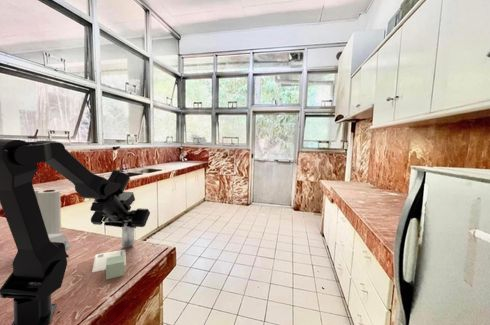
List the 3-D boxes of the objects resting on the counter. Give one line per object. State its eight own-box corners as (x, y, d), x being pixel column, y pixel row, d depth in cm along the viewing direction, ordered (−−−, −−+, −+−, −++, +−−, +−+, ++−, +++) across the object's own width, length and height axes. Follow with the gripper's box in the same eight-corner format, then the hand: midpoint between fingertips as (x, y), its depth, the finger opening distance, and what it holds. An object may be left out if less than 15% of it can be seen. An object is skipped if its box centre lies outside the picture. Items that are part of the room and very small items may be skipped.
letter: (126, 265, 68) (126, 265, 68) (92, 273, 63) (91, 272, 63) (125, 249, 78) (125, 249, 78) (95, 255, 74) (95, 254, 74)
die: (39, 270, 65) (63, 242, 67) (20, 253, 66) (45, 226, 69) (60, 265, 73) (81, 240, 75) (43, 250, 74) (64, 226, 77)
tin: (134, 245, 80) (135, 212, 79) (121, 247, 77) (122, 214, 77) (134, 241, 83) (134, 209, 82) (121, 243, 81) (121, 211, 80)
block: (124, 276, 63) (124, 261, 62) (105, 280, 60) (105, 265, 60) (123, 268, 67) (123, 254, 66) (106, 272, 64) (106, 258, 64)
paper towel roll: (65, 246, 79) (64, 189, 78) (45, 253, 73) (45, 192, 72) (51, 243, 81) (50, 188, 80) (31, 250, 75) (30, 190, 74)
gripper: (148, 187, 75) (161, 209, 86) (96, 184, 76) (116, 207, 87) (135, 215, 67) (151, 235, 79) (78, 212, 68) (102, 233, 80)
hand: (130, 226), depth 81 cm, fingers closed on tin, 4 cm apart
